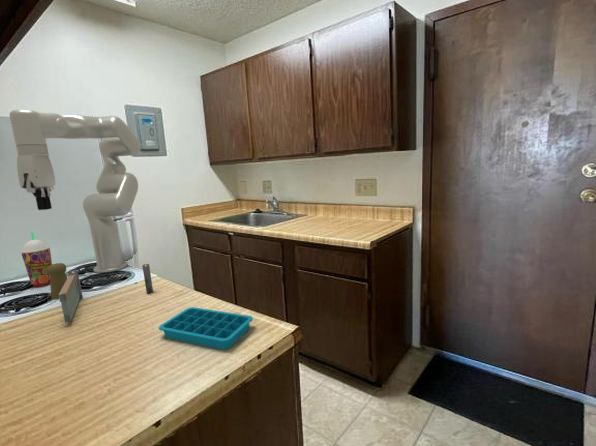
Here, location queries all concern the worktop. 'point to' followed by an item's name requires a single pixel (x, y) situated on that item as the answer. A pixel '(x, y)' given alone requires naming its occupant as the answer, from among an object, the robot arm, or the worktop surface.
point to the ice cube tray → (207, 327)
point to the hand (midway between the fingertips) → (45, 209)
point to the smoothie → (37, 261)
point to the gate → (69, 297)
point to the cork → (57, 278)
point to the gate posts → (146, 276)
